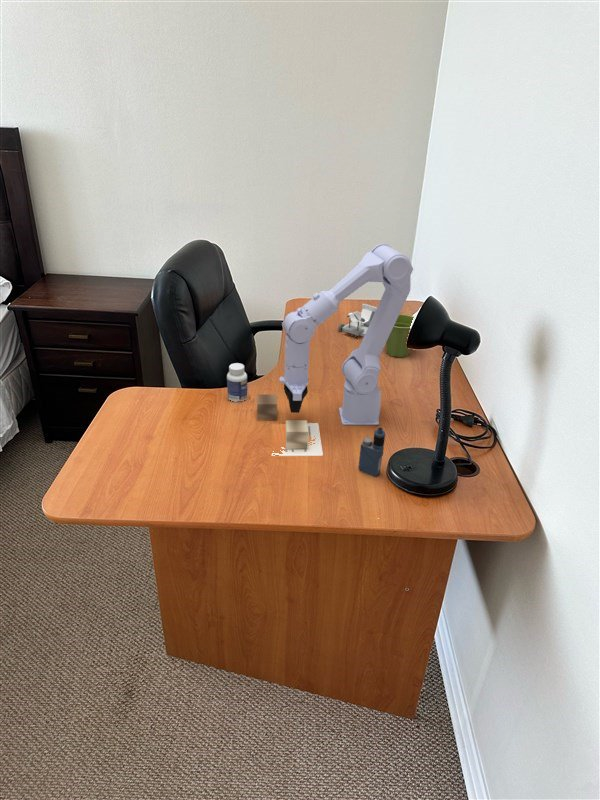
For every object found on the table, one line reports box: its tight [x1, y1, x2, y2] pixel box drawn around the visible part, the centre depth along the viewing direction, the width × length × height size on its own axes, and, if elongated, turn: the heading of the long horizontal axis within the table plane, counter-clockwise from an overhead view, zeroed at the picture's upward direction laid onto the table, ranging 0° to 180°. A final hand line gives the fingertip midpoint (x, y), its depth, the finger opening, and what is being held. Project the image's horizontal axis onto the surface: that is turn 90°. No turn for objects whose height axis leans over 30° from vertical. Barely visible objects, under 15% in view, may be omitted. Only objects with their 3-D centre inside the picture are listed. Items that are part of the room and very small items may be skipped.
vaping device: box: [358, 427, 386, 478], centre depth 123 cm, size 3×5×12 cm, turn 58°
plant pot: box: [385, 313, 415, 358], centre depth 178 cm, size 12×12×11 cm
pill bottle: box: [226, 362, 248, 403], centre depth 150 cm, size 5×5×10 cm
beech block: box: [285, 419, 308, 450], centre depth 133 cm, size 5×5×5 cm
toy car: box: [337, 303, 378, 338], centre depth 193 cm, size 18×10×12 cm
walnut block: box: [256, 393, 278, 421], centre depth 144 cm, size 5×5×5 cm
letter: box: [271, 422, 324, 457], centre depth 136 cm, size 12×14×1 cm
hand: (294, 411), depth 139 cm, fingers closed
